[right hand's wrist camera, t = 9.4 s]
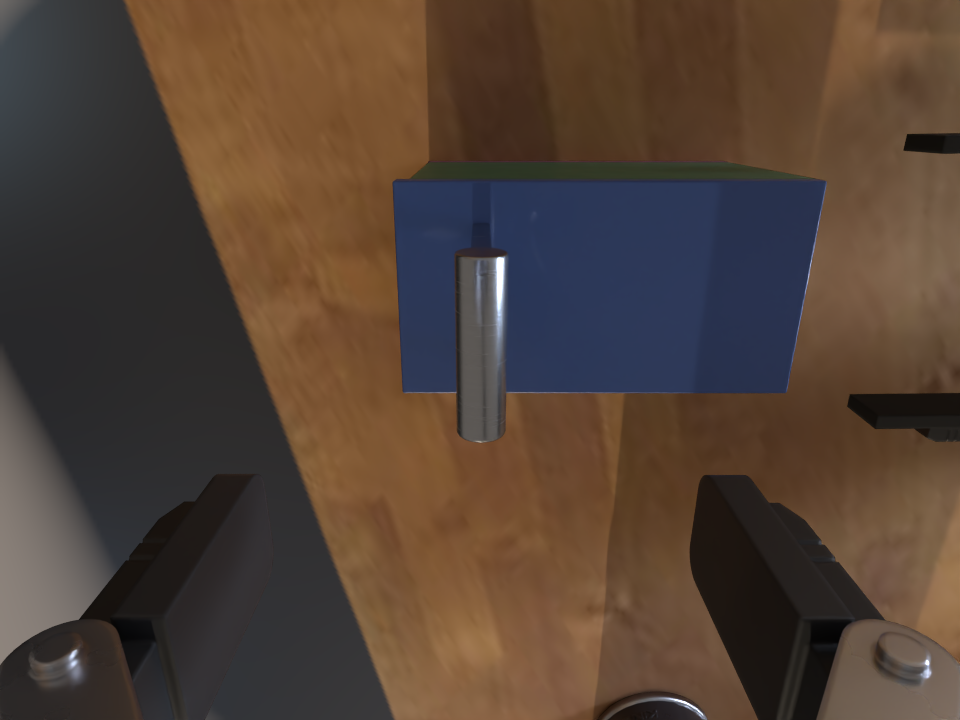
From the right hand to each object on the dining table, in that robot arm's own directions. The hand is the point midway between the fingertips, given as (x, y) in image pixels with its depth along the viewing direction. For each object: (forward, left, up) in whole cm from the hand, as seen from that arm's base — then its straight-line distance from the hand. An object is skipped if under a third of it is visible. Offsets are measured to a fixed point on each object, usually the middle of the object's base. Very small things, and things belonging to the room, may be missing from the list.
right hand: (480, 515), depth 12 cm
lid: (-3, -4, -16) cm, 17 cm away
